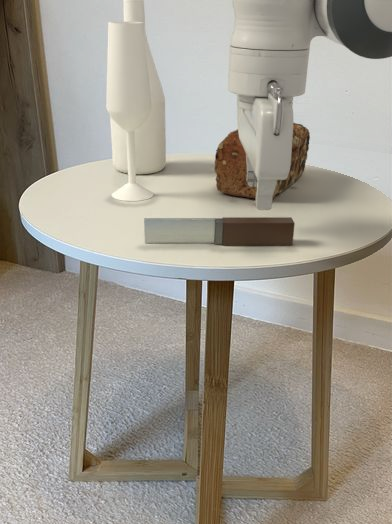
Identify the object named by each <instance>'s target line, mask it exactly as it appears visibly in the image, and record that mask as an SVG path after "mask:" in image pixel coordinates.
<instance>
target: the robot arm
mask: <svg viewBox="0 0 392 524" xmlns="http://www.w3.org/2000/svg"><path fill="white" fill-rule="evenodd" d="M231 3H232V8H233V13H234V23H233V24H234V25H233V30H232V34H231V37H230V41H229V55H228V57H229V58H228V74H227V75H228V76H227V77H228V79H227V91H228V92H229V93H232V94H235V95H236V114H237V115H236V116H237V118H236V119H237V129H238V133H239V139H240V142H241V144H242V146H243V148H244V151H245V153H246V163H247V179H246V181H247V184H248V185H249V186H250V187H257V192H256V199H255V200H254V204H255V207H256V209H257V210H258V211H270V210H271V209H272V207H273V199H274V198H273V194H274V190H275V187H276V184H277V180H284V179H286V178H287V177H288V174H289V171H290V166H291V153H292V138H293V122H294V108H293V105H294V104H293V103H294V102H293V101H294V97H299V96H303V95H304V94H305V93H306V87H307V79H308V67H309V57H310V49H311V42H312V40H313V39H314V38H315V37H324V38H326V39H327V40H329V41H332V42H334V43H336V44H338V45H341V46H344V47H345V48H346V49H347V50H349V51H350V52H351V53H353V54H355V55H356V56H359V57H362V58H365V59H370V60H383V59H387V58H392V0H231Z"/></svg>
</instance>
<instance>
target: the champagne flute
mask: <svg viewBox="0 0 392 524" xmlns="http://www.w3.org/2000/svg"><path fill="white" fill-rule="evenodd" d="M106 55H107V56H106V57H107V58H106V59H107V60H106V90H105V91H106V92H105V93H106V94H105V98H106V99H105V109H106V112H107V113H108V115H109V117H110V116H111V118H112V119H113V120H114V121H115V122H116V123H117V124H118V125H119V126H120V127H121V128H122V129H124V130H126V137H127V159H128V174H127V176H128V177H127V179H128V182H127V183H126V184H124V185H123V186H121V187H119V188H118V189H116V190H115V191H113V193H111V197H112V198H113V199H115V200H118V201H123V202H140V201H141V202H142V201H147V200H149V199H151V198H153V197H154V196H155V193H154V192H153V191H151V190H150V189H148V188H146V187H145V186H142V185H141V184H140V183H138V182H137V174H136V169H135V143H134V131H135V130H136V129H137V128H139V127H140V126H141V125H142V124H143V122H144V121H145V120H146V119H147V118H148V116H149V114H150V112H151V109H152V102H151V93H150V84H149V75H148V66H147V57H146V48H145V38H144V29H143V22H124V20H123V21H122V20H121V21H108V22H107V54H106Z"/></svg>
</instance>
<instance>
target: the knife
mask: <svg viewBox="0 0 392 524" xmlns="http://www.w3.org/2000/svg"><path fill="white" fill-rule="evenodd" d="M143 218H144V219H143V224H144V226H143V227H144V243H145V244H214V245H222V246H293V243H294V233H295V221H294V219H293V217H287V216H286V217H284V216H283V217H281V216H280V217H276V216H275V217H273V216H272V217H267V216H266V217H263V216H262V217H261V216H260V217H259V216H258V217H257V216H256V217H255V216H254V217H253V216H252V217H249V216H248V217H246V216H244V217H237V216H236V217H235V216H234V217H233V216H232V217H227V216H226V217H214V218H213V217H210V218H209V217H175V218H174V217H143Z"/></svg>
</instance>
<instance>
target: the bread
mask: <svg viewBox="0 0 392 524" xmlns="http://www.w3.org/2000/svg"><path fill="white" fill-rule="evenodd" d="M310 139H311V137H310V130H309V129H308V128H307V127H306V126H304V125H303V124H302V123H296V122H294V121H293V138H292V153H291V166H290V171H289V174H288V177H287V178H286V179H284V180H277V184H276V187H275V190H274V194H273V198H272V199H274V198H275V196H276V195H277V194H278V195H279V194H281V193H282V192H284V191H285V190H286V189H288V187H290V186H291V185H293V184H294V183H295V181H297V180H298V179H299V178H300V177H301V176H302V175H303V173H304V172H305V168H306V163H307V160H308V152H309V150H310ZM215 151H216V152H215V155H214V157H215V160H214V168H213V169H214V172H215V175H216V177H215V183H216V184H215V186H216V190H217V191H219V192H220V193H223V194H225V195H230V196H234V197H235V196H236V197H243V198H247V199H253V200H254V199H255V200H256V192H257V187H250V186H249V185H248V184H247V181H246V179H247V163H246V153H245V151H244V148H243V146H242V144H241V142H240V139H239V133H238V128H237V129H236V130H233V131H230V132H229V133H228V134H227V136H225V138H224V139H223V140H222V141H220V142H219V144H218V146H217V148H216V150H215Z"/></svg>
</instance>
